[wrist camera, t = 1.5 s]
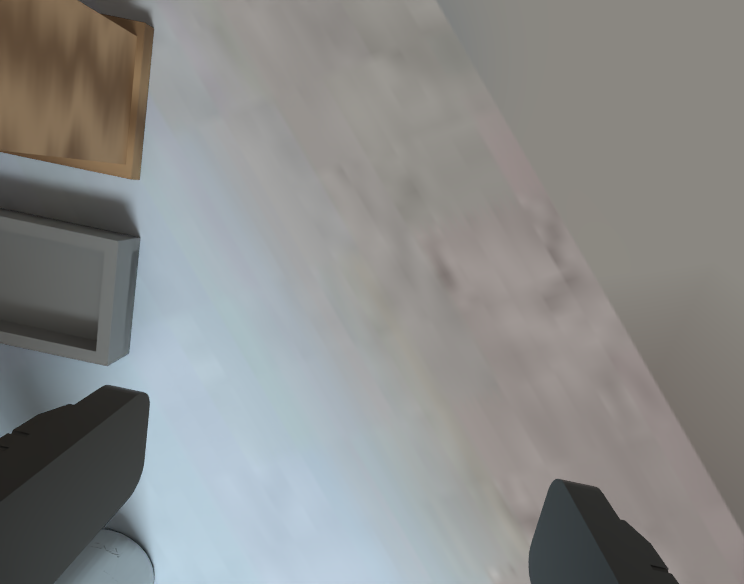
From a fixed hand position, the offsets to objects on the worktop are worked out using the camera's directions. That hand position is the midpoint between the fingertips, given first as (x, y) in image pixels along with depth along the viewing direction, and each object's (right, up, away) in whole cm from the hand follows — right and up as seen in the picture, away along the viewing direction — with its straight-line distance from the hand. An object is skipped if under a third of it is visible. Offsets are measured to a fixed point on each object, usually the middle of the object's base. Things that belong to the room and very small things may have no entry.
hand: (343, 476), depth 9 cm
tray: (-32, +6, +30) cm, 44 cm away
